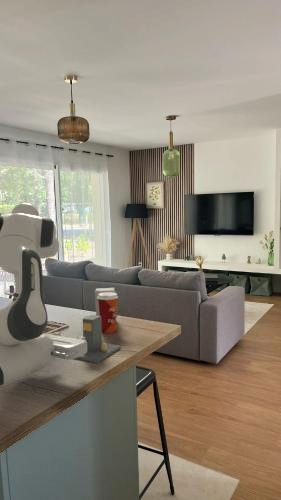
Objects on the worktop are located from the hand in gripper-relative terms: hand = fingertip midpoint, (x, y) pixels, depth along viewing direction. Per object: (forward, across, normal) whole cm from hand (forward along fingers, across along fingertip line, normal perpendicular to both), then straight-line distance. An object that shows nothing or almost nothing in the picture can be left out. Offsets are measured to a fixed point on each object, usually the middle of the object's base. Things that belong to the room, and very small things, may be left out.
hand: (70, 336), depth 112 cm
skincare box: (+43, +15, +9) cm, 46 cm away
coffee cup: (+34, +8, +9) cm, 36 cm away
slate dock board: (+12, 0, +9) cm, 15 cm away
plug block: (+12, 0, +8) cm, 14 cm away
